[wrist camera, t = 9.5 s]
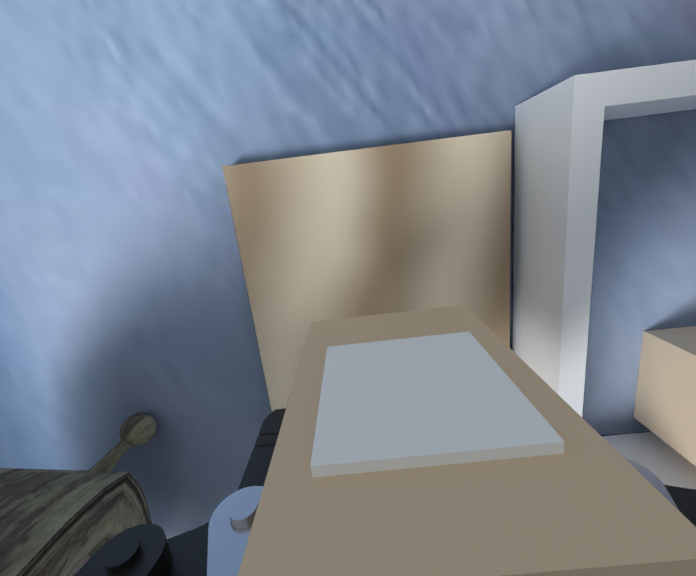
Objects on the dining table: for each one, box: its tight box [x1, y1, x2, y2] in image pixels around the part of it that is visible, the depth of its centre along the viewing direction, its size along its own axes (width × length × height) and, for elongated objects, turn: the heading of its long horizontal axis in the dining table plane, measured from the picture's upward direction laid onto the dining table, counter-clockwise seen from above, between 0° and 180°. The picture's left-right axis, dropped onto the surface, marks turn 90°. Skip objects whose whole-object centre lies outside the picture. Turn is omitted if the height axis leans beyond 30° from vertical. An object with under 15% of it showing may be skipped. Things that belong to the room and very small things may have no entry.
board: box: [223, 130, 511, 412], centre depth 17 cm, size 12×16×1 cm
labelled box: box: [238, 305, 696, 576], centre depth 8 cm, size 5×5×8 cm
